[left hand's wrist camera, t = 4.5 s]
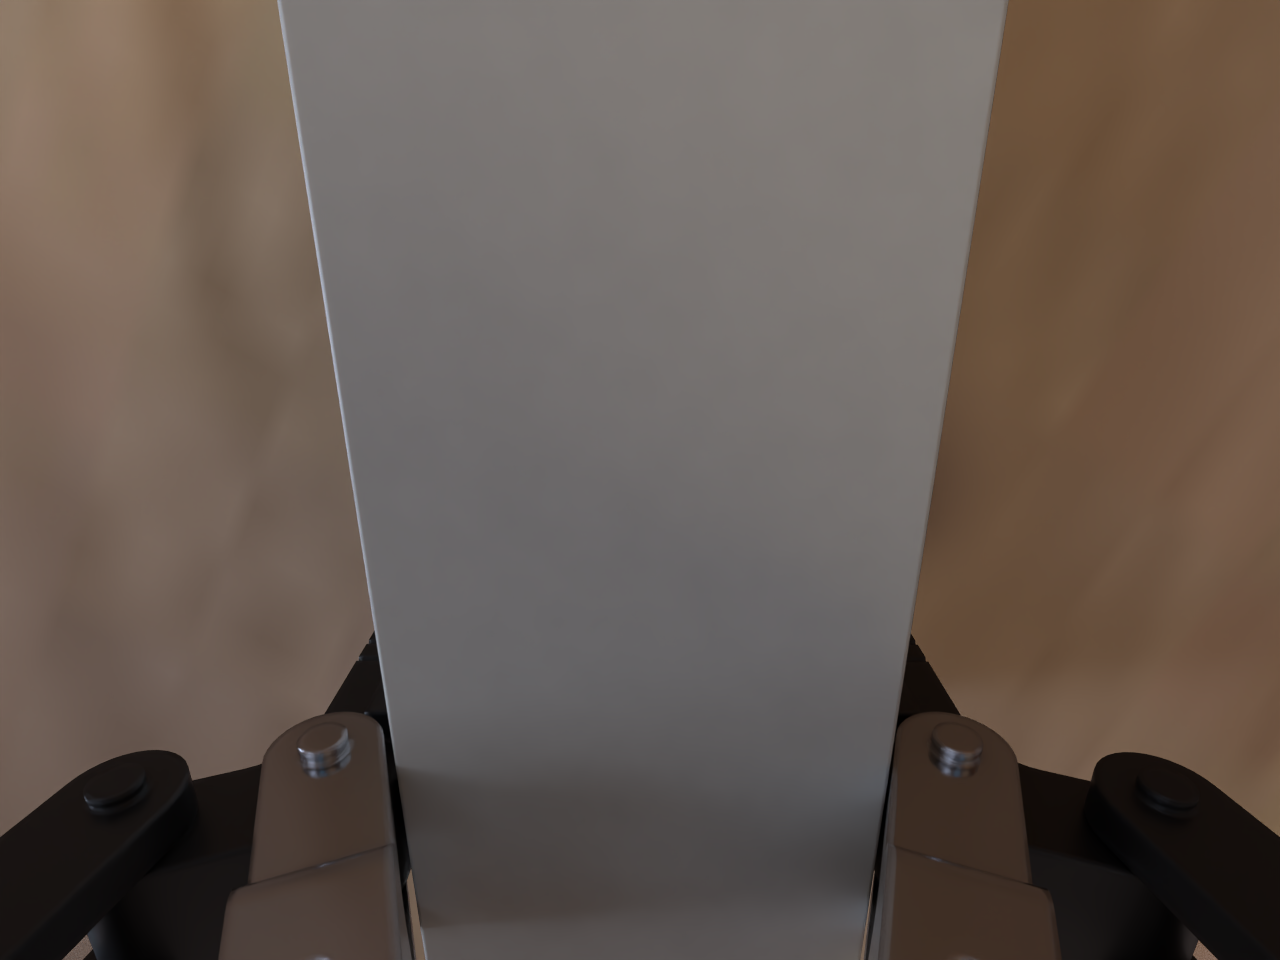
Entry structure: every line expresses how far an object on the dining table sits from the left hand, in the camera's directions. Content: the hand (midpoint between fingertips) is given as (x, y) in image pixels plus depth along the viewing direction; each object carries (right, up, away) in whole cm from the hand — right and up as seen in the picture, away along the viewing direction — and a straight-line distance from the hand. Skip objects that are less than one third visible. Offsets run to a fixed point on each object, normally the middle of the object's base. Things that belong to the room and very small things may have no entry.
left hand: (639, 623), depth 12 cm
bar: (0, +10, 0) cm, 10 cm away
